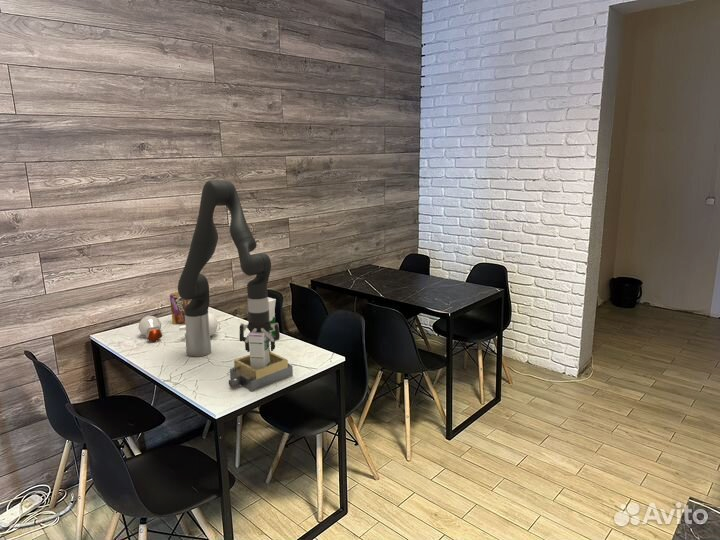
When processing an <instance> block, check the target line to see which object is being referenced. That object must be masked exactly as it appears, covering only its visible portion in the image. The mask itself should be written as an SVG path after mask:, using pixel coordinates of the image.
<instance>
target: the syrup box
mask: <svg viewBox="0 0 720 540" xmlns="http://www.w3.org/2000/svg"><path fill="white" fill-rule="evenodd" d="M248 335H249V349H250V351H249V355H250V363H251V367H252V368H254V369H256V370H258V369H260V368H263V367H266V366H269V365H270V364H271V362H270V352H271V346H270V340H269V338H268V337H267V336H266V335H265V333H264V332H255V333H251V332H250V331H249V333H248V334H247V336H248Z"/></svg>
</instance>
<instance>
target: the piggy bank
mask: <svg viewBox="0 0 720 540" xmlns="http://www.w3.org/2000/svg"><path fill="white" fill-rule="evenodd" d="M208 316H209V329H210V337H212V336H213V335H215V333H216V331H218V326H219V321H218V319H217V316H215V314H213V313H211V312H208ZM178 328H179V331H186V324H182V325H181V326H179V327H178Z"/></svg>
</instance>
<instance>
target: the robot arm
mask: <svg viewBox="0 0 720 540" xmlns="http://www.w3.org/2000/svg"><path fill="white" fill-rule="evenodd" d="M217 206H218V207H220V206H221V207H223V206H225V207H226V208H227V209H228V211H229V213H230V225H229V233H230V237H231V239H232V241H233V243H234V245H235V247H236V250H237V254H238V258H239V265H240V269H241V271H242V273H244V274H245V275H247V276H250V277H251V276H255V275H256V276H255V277H254V278H253V279H251V280H250V281H248V283H247V284H246V285H247V286H246V288H247V289H246V290H247V301H246V303H247V318H248V319H247V322H248V324H244V323H240V325H239V341H240V342H244V346H245V347H244V349H245V351H247V353H250V349H249V335H248V334H247V335H246V336H245V335H244V334H245V331H246V329H247V330H248V331H249V333H250V332H251V333H255V332H264V333H265V335H266V336H267V337H268V338H269V339H270V340H269V341H270V352H274V350H276V342H275V341H279V340H280V337H281V335H280V327H279V322H276V321H275V324H271V323H270V321H269V301H268V298H269V296H268V284H269V279H270V278H269V277H270V275H271V271H272V270H271V269H272V261H271V258H270V257H269V255H268V254H267V253H264V252H260V253H254V254H251V252H253V251H255V250H256V248H257V247H258V246H257V241H256V239H255V237H254V235H253V233H252V232H251V229H250V227H249V225H248V223H247V221H246V217H245V213H244V211H243V207H242V205H241V201H240V197H239V194H238V191H237V189H236V187H235V185H234V184H233V183H232V181H229V180H219V179H217V180H216V179H215V180H213V179H211V180H208V181H205V183H204V184H203V188H202V191H201V196H200V203H199V209H198V210H199V211H198V215H197V220H196V224H195V227H194V232H193V235H192V238H191V242H190V247H189V251H188V254H187V258H186V261H185V264H184V267H183V270H182V272H181V274H180V277H179V280H178V283H177V292H178V293H179V295H180V297H181V298H182V299H184V300H190V299H191V302H190V303H189V304H188V305H187V306H186V307H185V309H184V313H185V323H186V324H185V325H186V330H185V333H184V338H185V339H184V340H185V349H186V350H185V351H186V357H187V356H189V357H195V358H196V357H197V358H198V357H204V356H207V355H209V354H210V353H211V352H212V345H211V336H210V329H209V316H208V313H209V307H210V285H209V281H208V278H207V277H206V276H205V275H204V274H202V273H201V271H202V270H203V269H204V267H205V266H206V265H207V264H208V263H209V261H210V260H211V258H212V257H213V256H214V254H215V251H216V248H217V244H218V241H219V233H218V230H217V227H216V225H215V223H214V222H215V221H214V213H215V210H216V207H217ZM271 327H272V328H273V329H274V330H275V334H276V336H273V335H272V333H271V332H270V331H269V329H270V328H271Z"/></svg>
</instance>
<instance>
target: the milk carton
mask: <svg viewBox="0 0 720 540" xmlns="http://www.w3.org/2000/svg"><path fill="white" fill-rule="evenodd" d="M268 301H269V321H270V323H271V324H275V323H276V316H275V315H276V313H275V310H276V309H275V308H276V302H277V299H276V298H272V297H268ZM269 331H270V332H271V333H272V335H273V336H276V334H275V330H274V329H273V328H272V327H271V328H270V329H269ZM269 341H271V340H270V339H269Z"/></svg>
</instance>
